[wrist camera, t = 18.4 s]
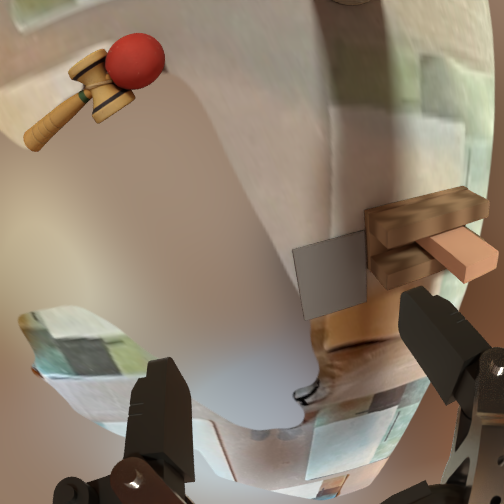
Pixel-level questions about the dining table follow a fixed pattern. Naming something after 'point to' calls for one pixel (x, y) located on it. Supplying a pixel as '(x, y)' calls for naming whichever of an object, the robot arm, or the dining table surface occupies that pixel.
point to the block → (461, 253)
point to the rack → (416, 232)
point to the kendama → (104, 84)
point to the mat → (331, 274)
